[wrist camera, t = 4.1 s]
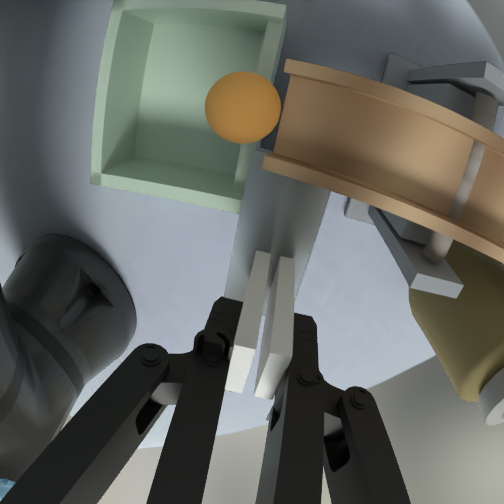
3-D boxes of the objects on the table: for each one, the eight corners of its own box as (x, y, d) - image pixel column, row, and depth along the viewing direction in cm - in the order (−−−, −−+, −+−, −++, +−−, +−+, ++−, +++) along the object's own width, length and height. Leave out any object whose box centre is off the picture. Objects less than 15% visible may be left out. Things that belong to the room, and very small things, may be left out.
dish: (127, 164, 21) (90, 183, 17) (149, 15, 15) (113, -1, 11) (251, 188, 21) (240, 214, 17) (286, 27, 15) (286, 5, 11)
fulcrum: (343, 213, 21) (375, 294, 13) (388, 54, 15) (460, 29, 7) (413, 234, 21) (468, 313, 13) (460, 88, 15) (551, 98, 7)
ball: (191, 141, 11) (273, 157, 11) (205, 62, 9) (291, 77, 10) (206, 132, 14) (271, 144, 14) (218, 69, 12) (286, 81, 12)
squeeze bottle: (435, 196, 19) (596, 389, 4) (490, 245, 20) (603, 403, 5) (376, 277, 23) (441, 502, 7) (436, 311, 24) (502, 485, 9)
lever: (247, 270, 21) (208, 316, 17) (298, 45, 14) (266, 15, 9) (476, 354, 17) (489, 411, 12) (570, 169, 10) (620, 192, 5)
